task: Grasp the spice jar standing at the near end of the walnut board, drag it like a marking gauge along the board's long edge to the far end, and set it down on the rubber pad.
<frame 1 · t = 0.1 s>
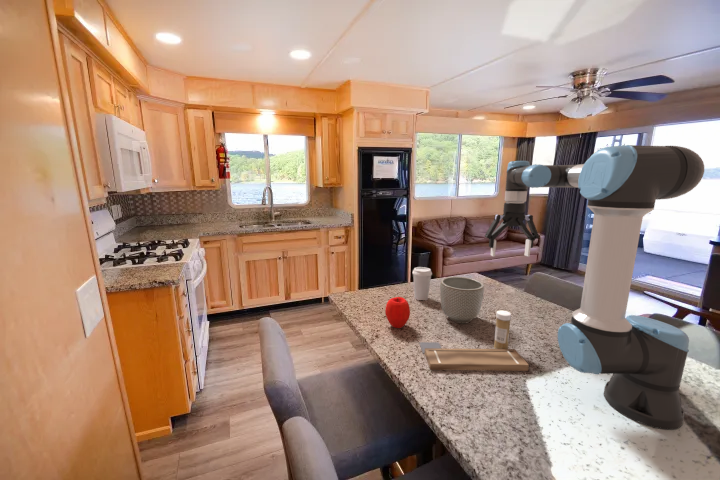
hand: (509, 255, 122), 28 cm above the counter, fingers open, 13 cm apart
board: (473, 361, 99), on the counter
apple: (397, 326, 123), on the counter
planter: (459, 319, 130), on the counter
coffee cup: (421, 298, 152), on the counter
end pad: (431, 348, 107), on the counter
spice jar: (500, 349, 106), on the counter
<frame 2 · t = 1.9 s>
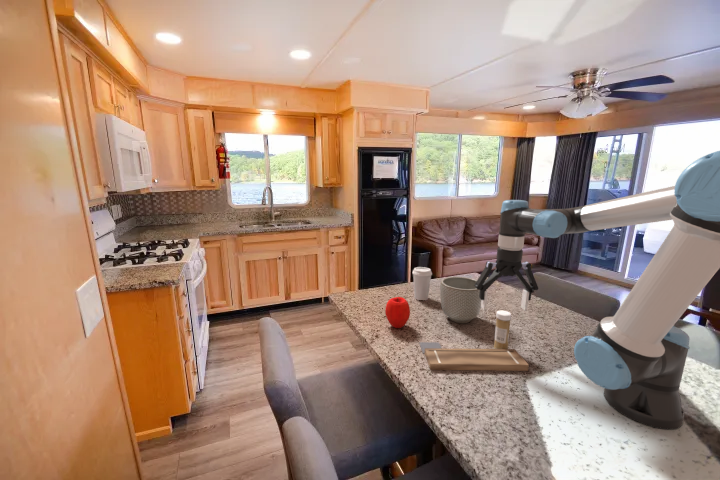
hand: (503, 309, 104), 15 cm above the counter, fingers open, 13 cm apart
nothing on the counter moved.
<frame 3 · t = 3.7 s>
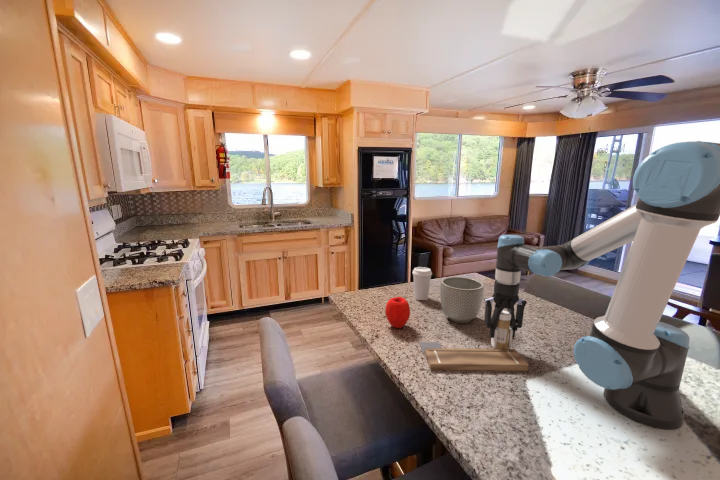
hand: (500, 345, 106), 1 cm above the counter, fingers closed on spice jar, 4 cm apart
spice jar: (500, 349, 106), on the counter, touching gripper
everything else where it was.
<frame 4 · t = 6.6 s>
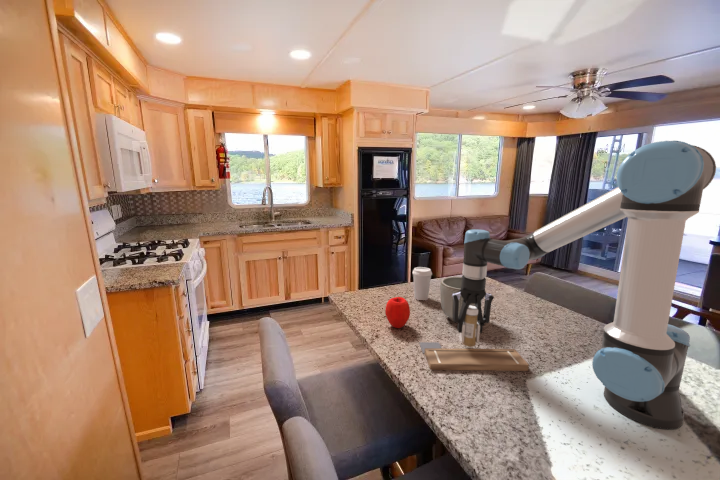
hand: (468, 340, 106), 3 cm above the counter, fingers closed on spice jar, 4 cm apart
spice jar: (468, 344, 107), point 1 cm above the counter, touching gripper
everything else where it was.
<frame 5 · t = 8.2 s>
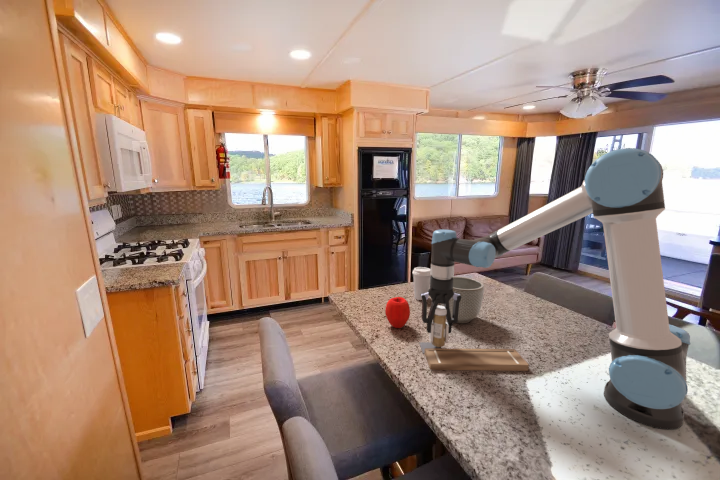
hand: (438, 340, 106), 3 cm above the counter, fingers closed on spice jar, 4 cm apart
spice jar: (438, 344, 107), point 1 cm above the counter, touching gripper
everything else where it was.
when the fingers open (2 cm above the counter, at t = 9.6 s): spice jar stays where it is, resting on end pad.
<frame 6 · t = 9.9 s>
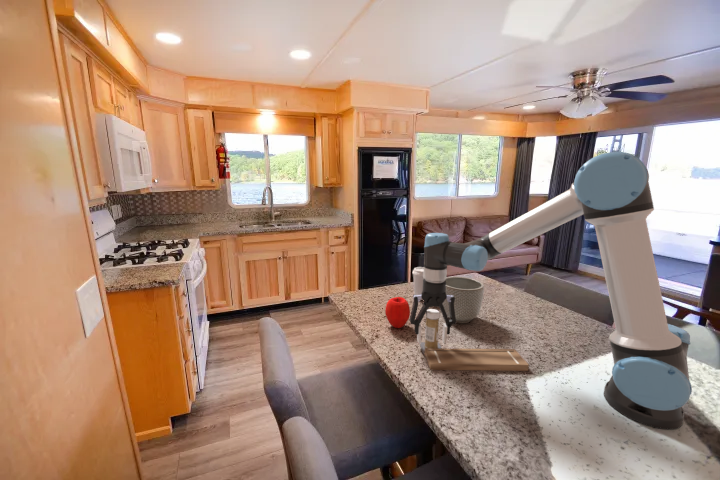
hand: (431, 342, 106), 2 cm above the counter, fingers open, 8 cm apart
spice jar: (431, 348, 107), resting on end pad
everything else where it was.
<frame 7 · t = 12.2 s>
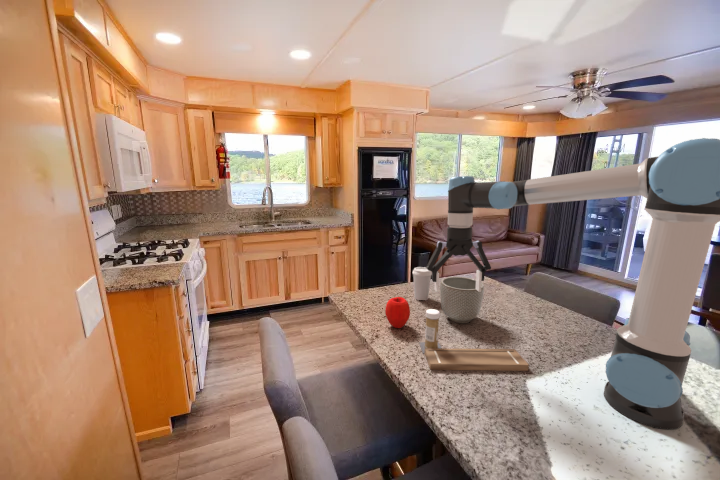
hand: (457, 290, 100), 22 cm above the counter, fingers open, 13 cm apart
nothing on the counter moved.
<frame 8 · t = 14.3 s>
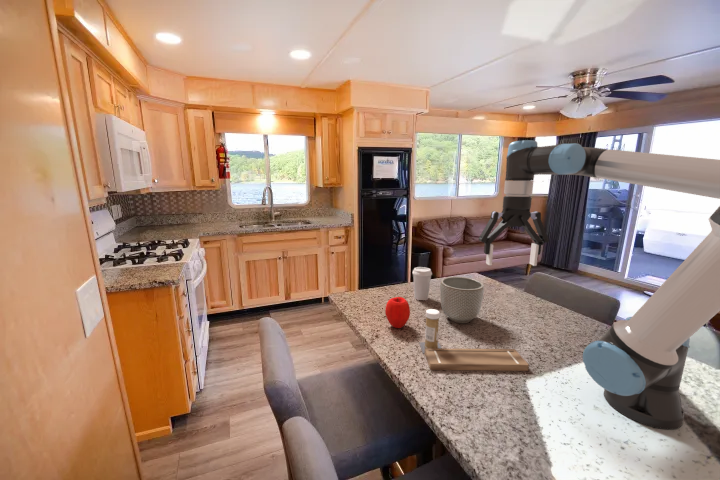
hand: (510, 264, 95), 32 cm above the counter, fingers open, 13 cm apart
nothing on the counter moved.
at the end: spice jar inside the target area (0.1 cm from its centre), resting on end pad; spice jar tilted 0°; the gripper is holding nothing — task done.
